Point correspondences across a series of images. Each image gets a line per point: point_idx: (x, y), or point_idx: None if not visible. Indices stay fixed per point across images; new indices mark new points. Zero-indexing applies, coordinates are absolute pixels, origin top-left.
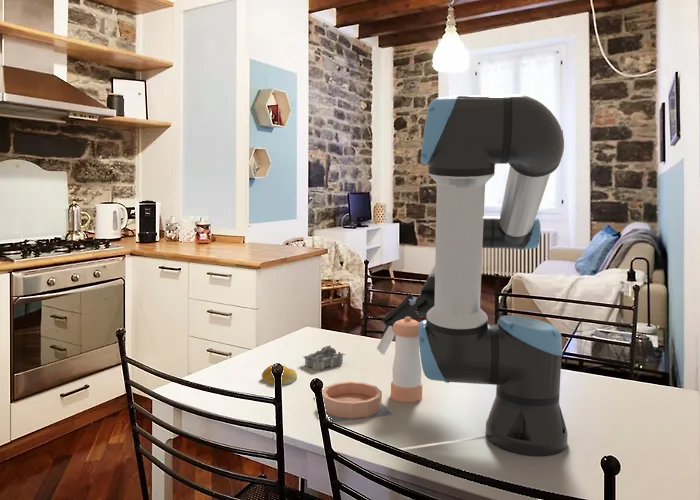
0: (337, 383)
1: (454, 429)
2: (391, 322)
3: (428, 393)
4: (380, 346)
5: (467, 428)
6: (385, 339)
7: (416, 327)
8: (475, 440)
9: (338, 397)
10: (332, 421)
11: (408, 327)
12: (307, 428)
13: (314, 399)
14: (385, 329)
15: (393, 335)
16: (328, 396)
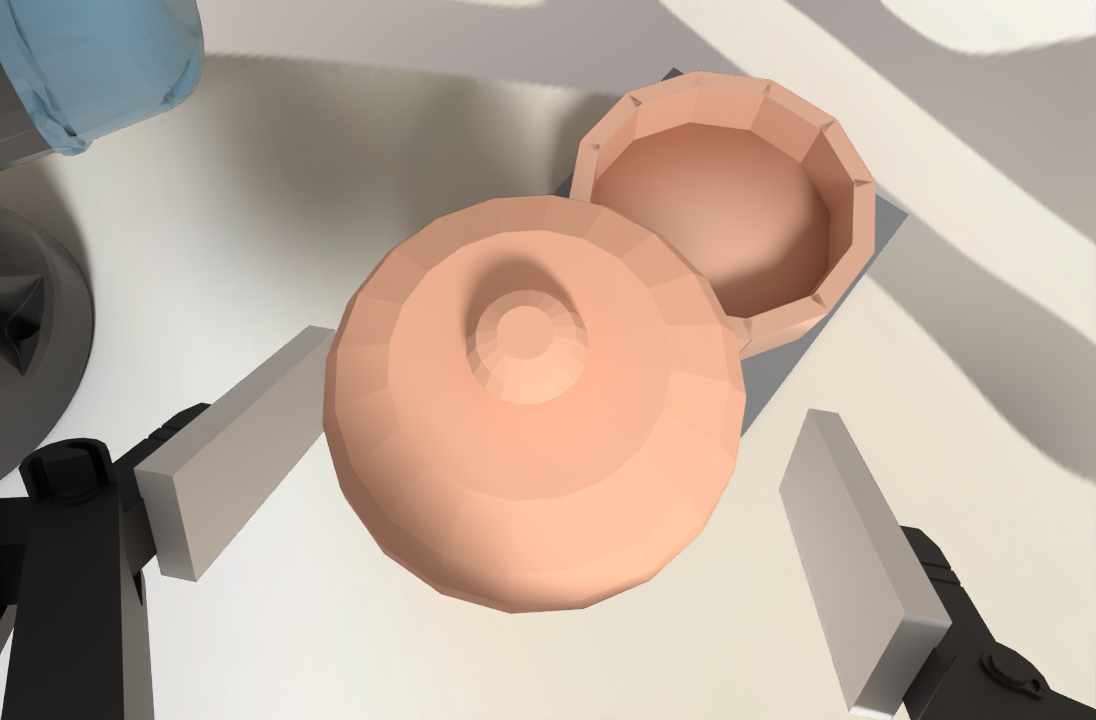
0: (863, 251)
1: (222, 280)
2: (977, 688)
3: (475, 628)
4: (814, 424)
5: (174, 317)
6: (834, 492)
7: (355, 295)
8: (126, 236)
9: (797, 239)
10: (668, 78)
11: (441, 219)
12: (713, 15)
13: (890, 204)
14: (969, 615)
15: (838, 644)
16: (771, 98)
